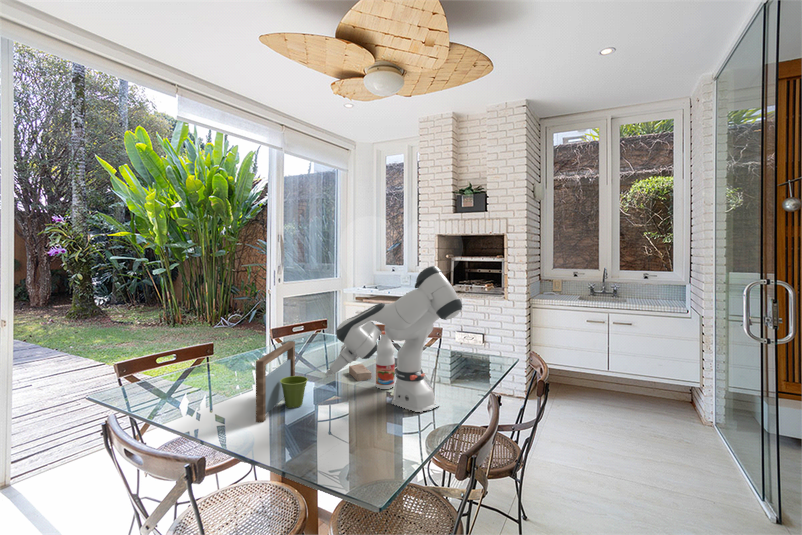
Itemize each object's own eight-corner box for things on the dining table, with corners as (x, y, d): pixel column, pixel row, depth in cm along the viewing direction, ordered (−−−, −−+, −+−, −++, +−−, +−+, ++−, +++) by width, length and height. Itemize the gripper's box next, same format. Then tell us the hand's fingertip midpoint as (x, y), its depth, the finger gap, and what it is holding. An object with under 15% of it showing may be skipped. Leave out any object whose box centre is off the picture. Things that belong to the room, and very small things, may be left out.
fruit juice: (391, 383, 199) (391, 329, 198) (396, 389, 190) (397, 332, 189) (373, 384, 196) (374, 330, 195) (378, 391, 187) (378, 333, 186)
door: (290, 390, 184) (290, 359, 184) (264, 416, 154) (264, 379, 153) (284, 390, 184) (284, 359, 184) (257, 415, 154) (257, 378, 153)
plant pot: (300, 411, 161) (300, 385, 161) (274, 409, 163) (274, 383, 163) (312, 401, 173) (312, 376, 172) (288, 399, 175) (288, 374, 175)
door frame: (294, 390, 187) (294, 341, 186) (263, 422, 150) (263, 361, 150) (288, 390, 187) (288, 341, 186) (255, 422, 150) (255, 361, 150)
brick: (372, 380, 205) (372, 371, 205) (357, 381, 201) (357, 373, 201) (362, 371, 220) (362, 363, 220) (348, 373, 217) (348, 365, 216)
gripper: (350, 340, 179) (329, 361, 180) (341, 351, 159) (317, 374, 160) (360, 350, 179) (339, 370, 180) (351, 362, 159) (328, 385, 159)
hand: (329, 372), depth 169 cm, fingers open, 8 cm apart
